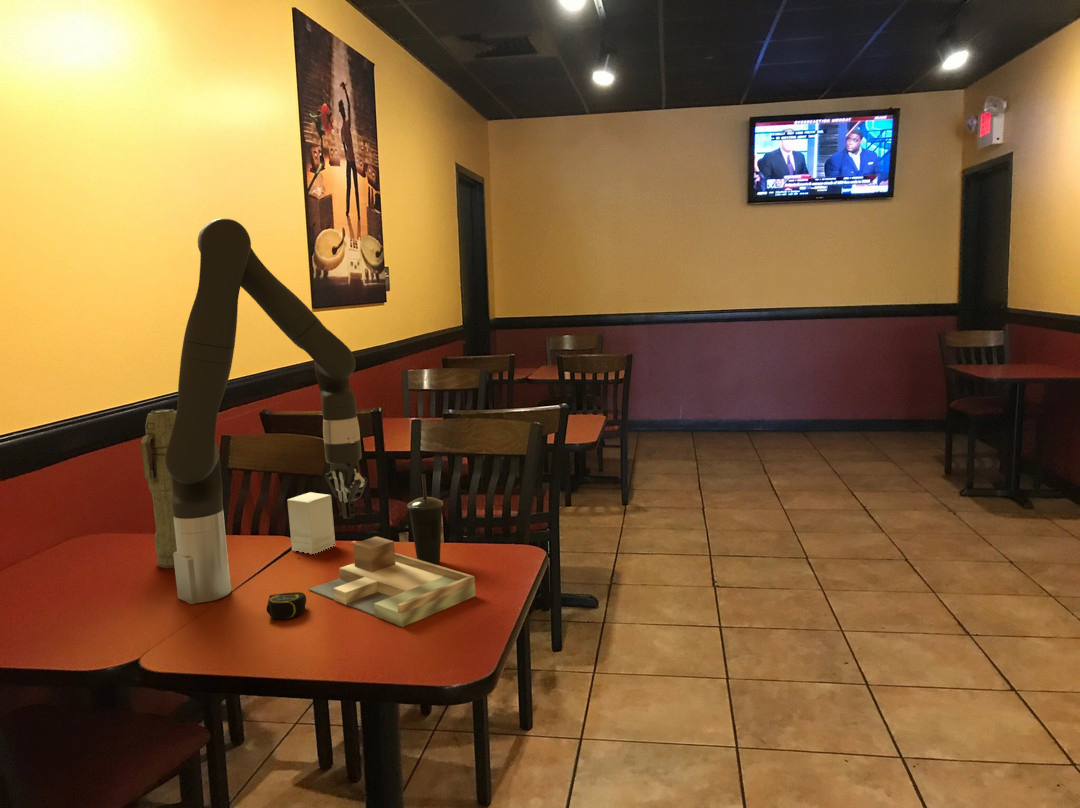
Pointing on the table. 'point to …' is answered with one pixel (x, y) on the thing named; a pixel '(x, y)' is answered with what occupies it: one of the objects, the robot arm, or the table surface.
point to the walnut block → (374, 554)
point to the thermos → (160, 482)
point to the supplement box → (311, 522)
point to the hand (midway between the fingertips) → (349, 517)
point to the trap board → (400, 589)
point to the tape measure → (286, 605)
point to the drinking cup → (426, 526)
